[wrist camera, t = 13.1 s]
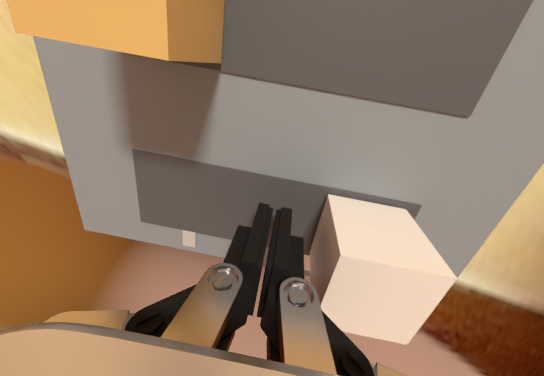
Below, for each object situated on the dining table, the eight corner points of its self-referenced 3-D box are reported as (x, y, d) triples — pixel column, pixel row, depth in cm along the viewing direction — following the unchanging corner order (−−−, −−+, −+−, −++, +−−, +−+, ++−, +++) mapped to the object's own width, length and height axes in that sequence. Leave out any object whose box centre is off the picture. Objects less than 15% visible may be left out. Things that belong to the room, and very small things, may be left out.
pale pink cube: (406, 209, 12) (457, 278, 8) (377, 266, 14) (407, 344, 10) (327, 193, 12) (340, 255, 8) (309, 252, 14) (312, 325, 10)
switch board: (668, -59, 8) (732, -81, 7) (429, 286, 16) (440, 303, 15) (11, -166, 8) (-35, -203, 7) (98, 219, 16) (82, 230, 15)
